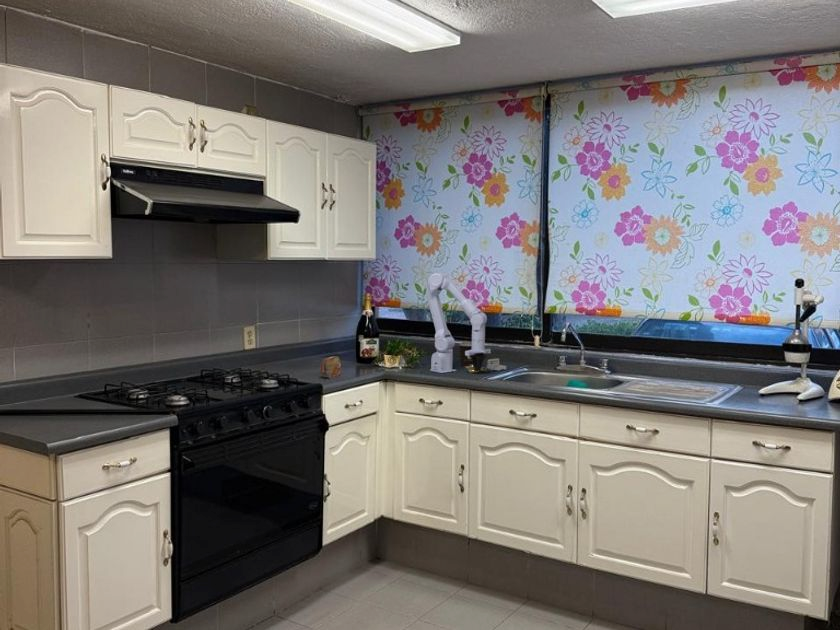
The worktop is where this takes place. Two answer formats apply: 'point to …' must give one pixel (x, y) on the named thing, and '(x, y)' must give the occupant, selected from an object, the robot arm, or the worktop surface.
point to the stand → (495, 364)
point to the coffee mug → (464, 358)
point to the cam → (474, 368)
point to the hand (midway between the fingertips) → (477, 370)
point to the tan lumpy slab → (331, 367)
